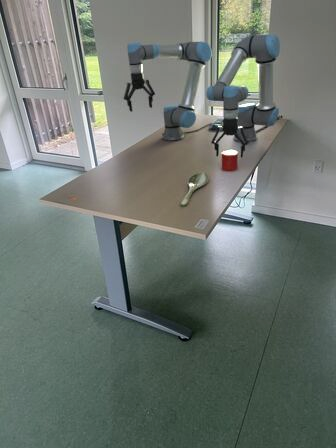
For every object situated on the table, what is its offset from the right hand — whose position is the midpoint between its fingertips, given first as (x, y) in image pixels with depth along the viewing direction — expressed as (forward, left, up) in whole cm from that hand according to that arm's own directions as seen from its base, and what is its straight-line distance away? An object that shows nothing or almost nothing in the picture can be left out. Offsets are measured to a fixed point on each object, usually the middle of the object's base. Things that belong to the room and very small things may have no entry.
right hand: (229, 156), depth 187 cm
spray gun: (-61, -63, -8) cm, 87 cm away
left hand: (+15, -60, +21) cm, 65 cm away
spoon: (+33, +5, -8) cm, 34 cm away
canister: (0, 0, -8) cm, 8 cm away
